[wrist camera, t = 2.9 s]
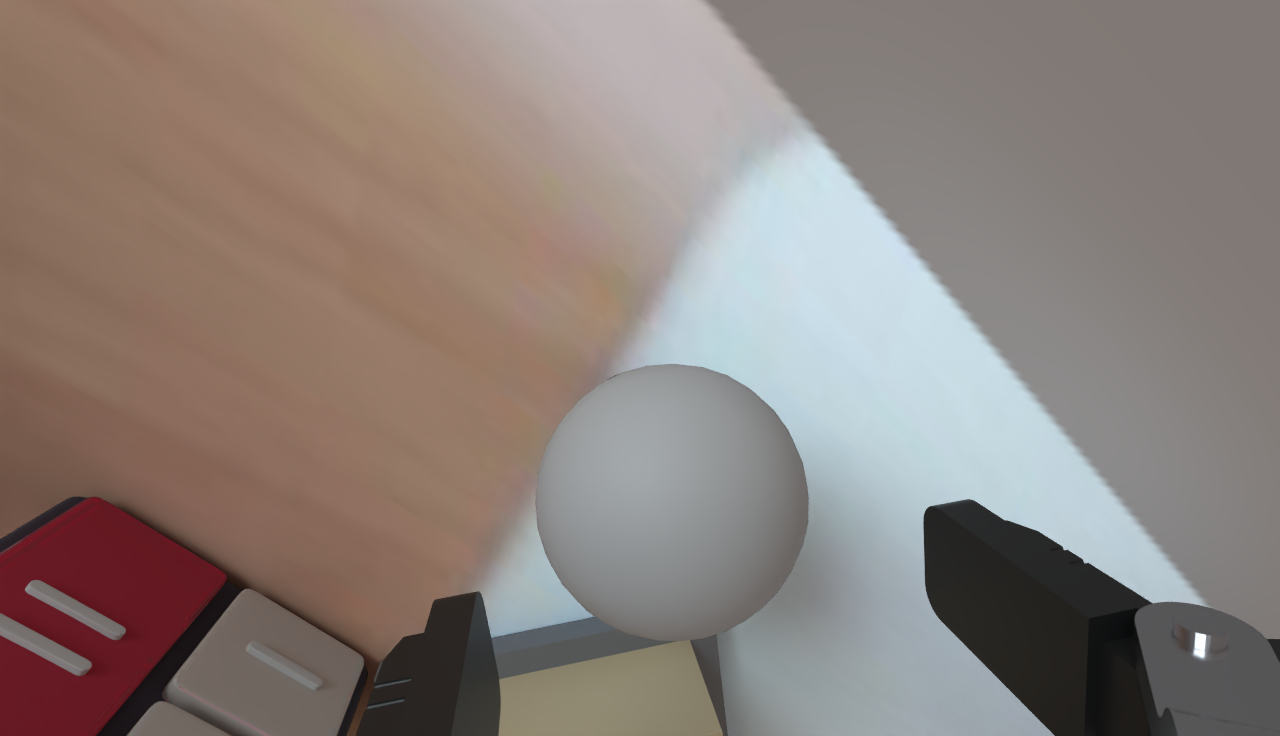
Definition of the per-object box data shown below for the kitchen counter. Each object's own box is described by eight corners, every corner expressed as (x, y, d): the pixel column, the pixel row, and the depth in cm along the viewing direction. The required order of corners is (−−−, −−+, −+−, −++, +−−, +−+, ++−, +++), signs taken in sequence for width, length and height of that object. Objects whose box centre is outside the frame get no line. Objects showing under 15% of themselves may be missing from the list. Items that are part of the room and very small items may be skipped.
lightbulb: (741, 357, 23) (915, 479, 12) (665, 508, 24) (768, 743, 13) (581, 284, 22) (624, 351, 11) (508, 447, 22) (481, 656, 12)
